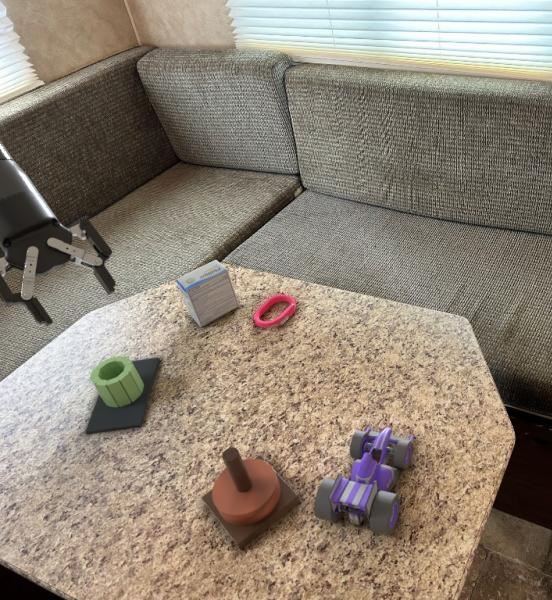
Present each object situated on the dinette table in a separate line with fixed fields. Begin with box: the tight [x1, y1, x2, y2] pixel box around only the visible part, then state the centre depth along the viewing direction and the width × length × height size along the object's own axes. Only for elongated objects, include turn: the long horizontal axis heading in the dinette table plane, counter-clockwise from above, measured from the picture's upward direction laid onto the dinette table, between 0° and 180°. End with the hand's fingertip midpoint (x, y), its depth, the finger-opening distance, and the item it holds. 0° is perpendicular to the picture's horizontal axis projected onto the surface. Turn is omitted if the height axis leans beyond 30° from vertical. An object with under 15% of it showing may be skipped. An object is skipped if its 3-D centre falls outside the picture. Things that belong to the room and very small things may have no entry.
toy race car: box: [313, 426, 415, 537], centre depth 77 cm, size 10×15×6 cm, turn 162°
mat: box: [85, 357, 161, 435], centre depth 95 cm, size 14×8×1 cm, turn 5°
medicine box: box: [175, 259, 241, 328], centre depth 106 cm, size 8×4×9 cm, turn 130°
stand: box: [200, 447, 301, 551], centre depth 75 cm, size 9×9×10 cm
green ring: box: [89, 355, 144, 407], centre depth 93 cm, size 6×6×5 cm
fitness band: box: [253, 294, 297, 328], centre depth 106 cm, size 8×6×2 cm
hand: (82, 308), depth 81 cm, fingers open, 8 cm apart
